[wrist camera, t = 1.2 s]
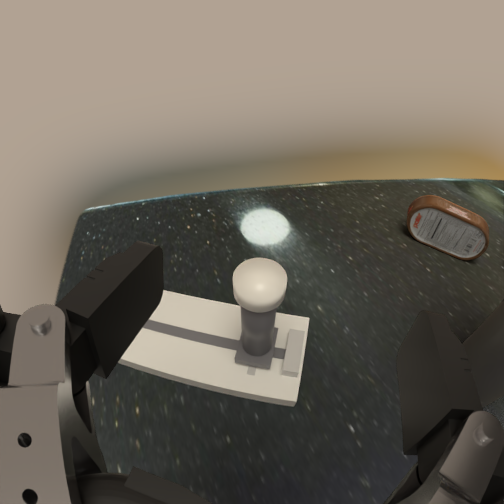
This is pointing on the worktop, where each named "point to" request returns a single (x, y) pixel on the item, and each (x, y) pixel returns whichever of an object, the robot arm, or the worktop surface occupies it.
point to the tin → (448, 227)
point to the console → (217, 350)
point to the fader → (258, 309)
